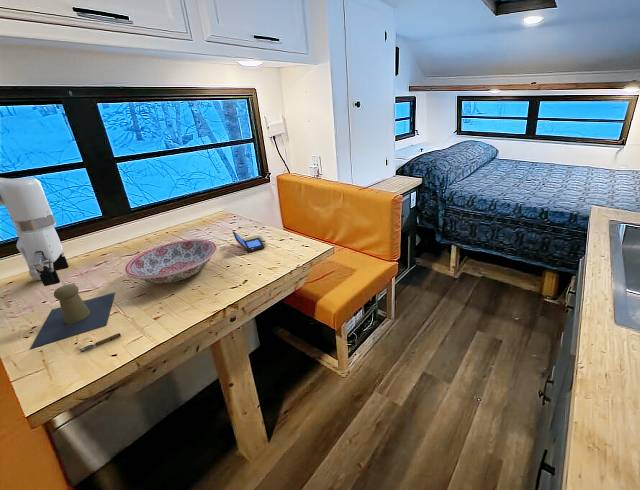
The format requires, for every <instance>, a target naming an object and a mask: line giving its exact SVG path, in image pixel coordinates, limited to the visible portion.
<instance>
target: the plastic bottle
mask: <svg viewBox="0 0 640 490" xmlns="http://www.w3.org/2000/svg"><path fill="white" fill-rule="evenodd" d="M15 231H16V230H15ZM15 233H16V236H17V238H18V240H17V242H16V249H17V250H18V251H19V252H20V254H21V255H22V256H23V258H24V260H25V262H26V264H27V268H28V273H29V276H30V277H31V279H32V280H35V281H42V280H41V278H40V276H39V274H38V271H36V270H37V269H36V268H35V266H34V267H32V266H30V264H29V262H28V259H27V256H26V254H25V251H24V248H23V245H22V241H21V236H20V233H17V231H16V232H15ZM47 261H49V260H47ZM43 262H46V261H43ZM44 266H47V267H49V264H47V265H44Z"/></svg>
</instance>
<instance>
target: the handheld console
mask: <svg viewBox="0 0 640 490" xmlns="http://www.w3.org/2000/svg"><path fill="white" fill-rule="evenodd" d="M232 234H233V237H234V240H235V241H236V242H237V243H238V244H239V245H240V246H241V247H242V248H244V250H245V251H246V254H247V253H248V254H249V253H253V252H256V251H261V250H264V249H265V245H264V243H263V242H262V240H261V238H260V237H254V238H250V239H247V240H245V239H243V238H242V237H241V236H239V234H237V233H236V232H235V231H234V230H232Z"/></svg>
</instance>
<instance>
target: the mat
mask: <svg viewBox="0 0 640 490" xmlns="http://www.w3.org/2000/svg"><path fill="white" fill-rule="evenodd" d="M115 296H116V292H111V293H108V294H103V295H100V296H97V297H93V298H88V299H85V300H83V302H84V303H85V305H86V306H87V308H88V309H89V310H90V315H89V316H87V317H86V318H84V319H83V320H80V321H78V322H75V323H70V324H66V323H64V319H63V315H62V311H61V306H60V307H56V308H53V309H51V310H50V311H49V314H48V316H47V317H46V318H45V321H44V322H43V325H42V326H41V328H40V330H39V331H38V333H37V335H36V337H35V338H34V340H33V342H32V343H31V346H30V347H29V350H33V349H35V348H38V347H39V348H40V347H42V346H45V345H49V344H52V343H55V342H58V341H62V340H64V339H68V338H71V337H74V336H78V335H80V334H84V333H86V332H90V331H94V330H97V329H99V328H102V327H106V326H107V324H108V322H109V321H108V320H109V317H110V314H111V310H112V306H113V304H114V299H115Z"/></svg>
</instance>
